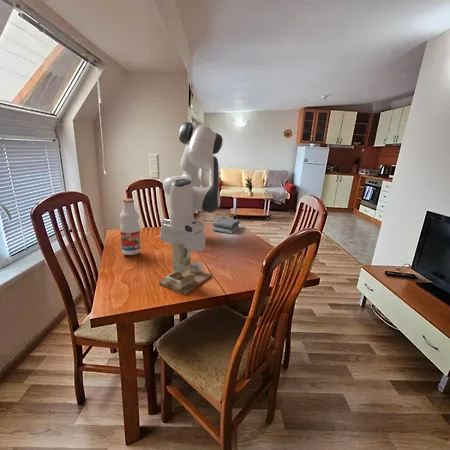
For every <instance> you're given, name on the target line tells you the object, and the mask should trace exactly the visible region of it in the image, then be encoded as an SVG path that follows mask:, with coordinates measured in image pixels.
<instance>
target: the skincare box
mask: <svg viewBox="0 0 450 450" xmlns="http://www.w3.org/2000/svg"><path fill="white" fill-rule="evenodd" d="M187 252H188V251H187V248H184V247H183V243H180V242H177V241H173V249H172V271H173V272H174V271H177V272H180V273H181V272H183V271H185V270H187V269H189V268H190V263H191V257H190V258H185V253H187ZM191 254H192V252H191V253H190V256H191Z"/></svg>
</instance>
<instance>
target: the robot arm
mask: <svg viewBox="0 0 450 450" xmlns="http://www.w3.org/2000/svg"><path fill="white" fill-rule="evenodd" d="M178 139H179V142H180V143H182V144H184V145H185V146H184V150H183V153H182V156H181V159H180V162H179V166H180V168H181V169H182V171H183V172H182V175H173V176H169V177H167V178H165V179H164V180H163V182H162V188H163V191H164V192H165V194H166V195H168V197H169V206H170V213H169V219H167V218H164V219H163V220H162V221H161V227H160V234H159V235H158V236H159V237H160V240H161V241H162V242H164V243H167V244H170V245H171V246H170V247H171V248H172V250H173V241H177V242H180V243H183V247H184V248H187V251H188V252H187V253H185V258H190V259H191V255H190V253H191V254H192V252H193V251H195V252H201V251H203V250H204V249H205V248H206V234H205V231H204V230H205V224H204V223H202V222H201V221H199V220H198V219H196V218H195V217H194V215H195V214H194V212H195V211H197V212H203V213H204V212H205V213H210V214H213V213H214V212H216V211H218V209H220V205H221V193H220V172H219V171H220V170H219V169H220V168H219V161H218V158H217V156H215V155H216V154H218V153H219V152H220V151H221V149H222V147H223V136H222V134H221V135H220V133H218V132H215V131H213V130H212V128H210V127H209V126H206V125H199V124H198V125H197V124H193V122H188V121H186V122H183V124H182V125H181V126H180V128H179V130H178ZM200 170H204V171H205V172H207V173H208V176H209V177H208V178H209V179H208V182H209V183H208V186H205V187H202V181H201V179H200V177H199V172H200ZM193 211H194V212H193Z"/></svg>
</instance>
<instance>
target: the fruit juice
mask: <svg viewBox="0 0 450 450" xmlns="http://www.w3.org/2000/svg"><path fill="white" fill-rule="evenodd" d="M122 200H123V201H122V202H123V206H122V210H121V212H120V214H119V220H120V226H119V227H120V228H119V232H120V233H119V234H120V244H121V245H120V246H121V253H122V254H123V255H127V256H132V255H133V256H134V255H137V254H139V253H140V252H141V250H142V249H141V248H142V247H141V229H140V228H141V227H140V223H139V220H140V219H139V218H140V214H139V213H138V212H137V210H136V208H135V205H134V202H135V201H134V199H133V198H124V199H122Z"/></svg>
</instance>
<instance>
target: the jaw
mask: <svg viewBox="0 0 450 450" xmlns="http://www.w3.org/2000/svg"><path fill="white" fill-rule="evenodd" d="M189 271H190V272H193V273H196V274H200V273H201V272H202V271H203V264H202V263H199V262H196V261H192V262H190V268H189Z"/></svg>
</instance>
